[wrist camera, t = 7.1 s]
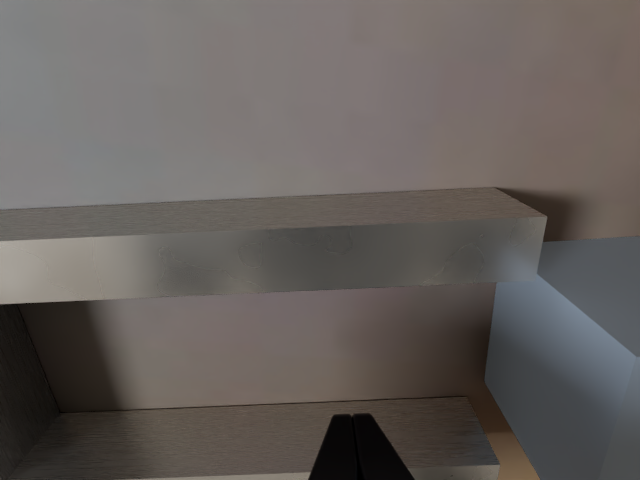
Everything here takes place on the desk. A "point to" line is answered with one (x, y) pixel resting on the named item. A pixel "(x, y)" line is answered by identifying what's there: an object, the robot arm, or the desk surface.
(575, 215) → the desk surface
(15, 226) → the white u-shaped frame
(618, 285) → the block
